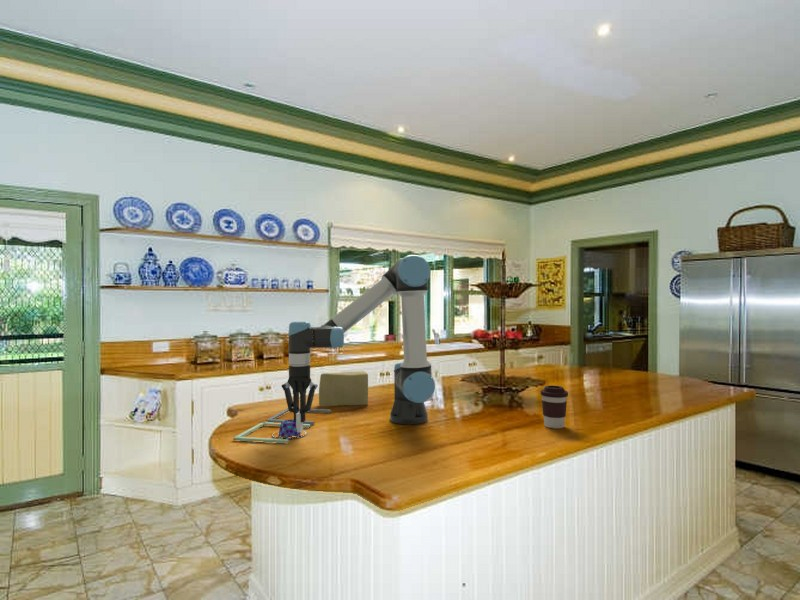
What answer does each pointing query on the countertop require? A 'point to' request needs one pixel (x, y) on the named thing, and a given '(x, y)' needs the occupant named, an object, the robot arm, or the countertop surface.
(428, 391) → the robot arm
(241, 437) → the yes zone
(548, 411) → the coffee cup
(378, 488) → the countertop surface
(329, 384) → the olive beige rectangular block
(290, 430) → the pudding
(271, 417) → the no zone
